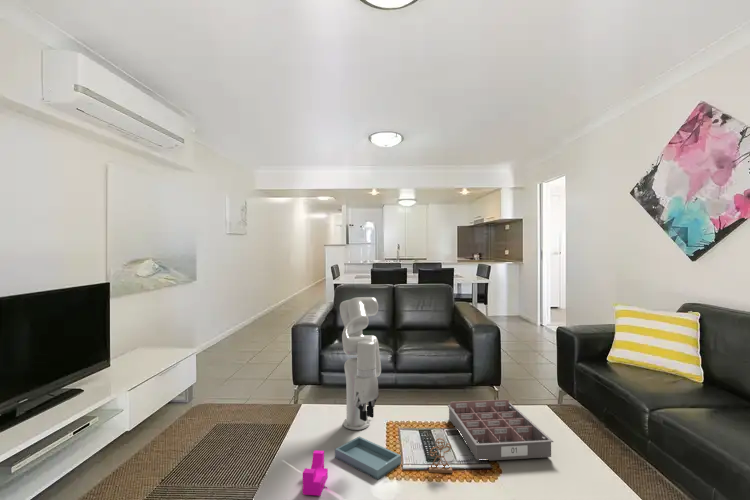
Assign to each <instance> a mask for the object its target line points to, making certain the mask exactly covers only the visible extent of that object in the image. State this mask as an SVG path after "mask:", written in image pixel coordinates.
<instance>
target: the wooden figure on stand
mask: <svg viewBox="0 0 750 500" xmlns="http://www.w3.org/2000/svg"><path fill="white" fill-rule="evenodd" d="M439 440H442V441H439ZM434 443H435V446H434V447H432V448H430V450H429V456H431V457H435V458H434V460H433V461H432V463H431V464H432V465H433V464H434V465H435V466H436V467H432V465H431V467H429V469H428V472H429V473H441V474H443V473H444V474H452V473H453V472H454V471H453V467H449V468H445V466H446V465H448V466H449V465H450V464H449V463H448V461H447V460H446V458H445V455H442V451H443V450H444V449H446V448H447V450H445V451H443V454H445V453H448V452H449V451H450V450H451V448H452V445H451V443H449V442H447V443H446V441H445V439H444V438H441V437H438V438H437V439H436V440H435V442H434ZM435 449H437V450H438V451H439V455H438V452H437V450H435ZM433 450H435V451H433ZM437 459H439V460H438V462H437V463H435V462H436V460H437ZM442 459H444V462H445V463H443V461H442ZM440 464H441V465H443V466H444V467H442V468H439V467H437V466H438V465H440Z"/></svg>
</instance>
